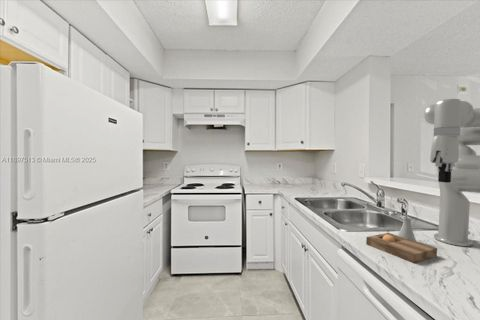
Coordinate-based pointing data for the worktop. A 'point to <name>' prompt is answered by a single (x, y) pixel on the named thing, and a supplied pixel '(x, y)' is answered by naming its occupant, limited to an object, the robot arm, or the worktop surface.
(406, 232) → the flask
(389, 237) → the ball
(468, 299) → the worktop surface
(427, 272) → the worktop surface
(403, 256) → the board
